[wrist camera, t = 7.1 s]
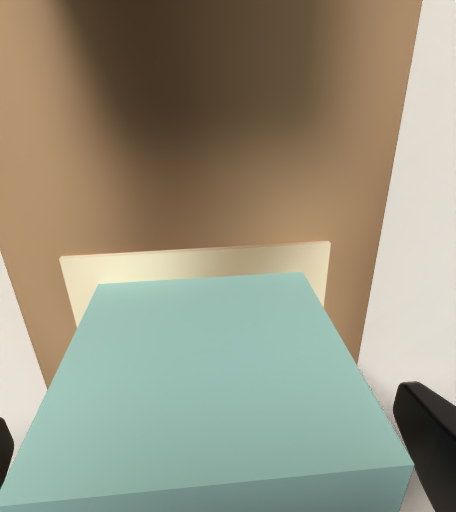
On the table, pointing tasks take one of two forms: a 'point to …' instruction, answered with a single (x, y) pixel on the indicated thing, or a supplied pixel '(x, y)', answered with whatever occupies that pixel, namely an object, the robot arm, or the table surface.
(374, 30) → the base slab
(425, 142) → the table surface
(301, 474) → the teal cube
